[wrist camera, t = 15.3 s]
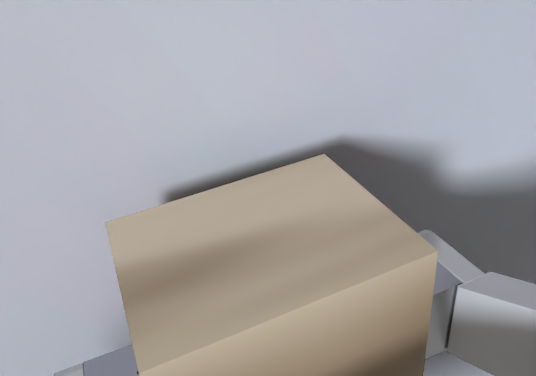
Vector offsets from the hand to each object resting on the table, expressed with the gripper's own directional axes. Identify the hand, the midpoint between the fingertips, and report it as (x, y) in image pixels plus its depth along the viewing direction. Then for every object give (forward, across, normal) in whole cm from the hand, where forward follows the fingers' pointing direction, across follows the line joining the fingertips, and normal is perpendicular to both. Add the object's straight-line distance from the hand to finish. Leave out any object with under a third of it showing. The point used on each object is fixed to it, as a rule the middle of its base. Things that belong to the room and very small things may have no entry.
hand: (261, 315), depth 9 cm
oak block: (+1, 0, 0) cm, 1 cm away
